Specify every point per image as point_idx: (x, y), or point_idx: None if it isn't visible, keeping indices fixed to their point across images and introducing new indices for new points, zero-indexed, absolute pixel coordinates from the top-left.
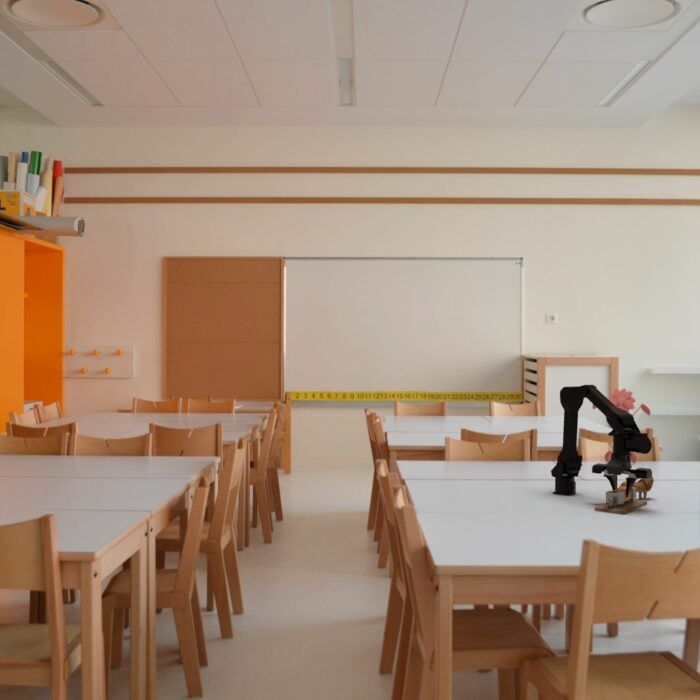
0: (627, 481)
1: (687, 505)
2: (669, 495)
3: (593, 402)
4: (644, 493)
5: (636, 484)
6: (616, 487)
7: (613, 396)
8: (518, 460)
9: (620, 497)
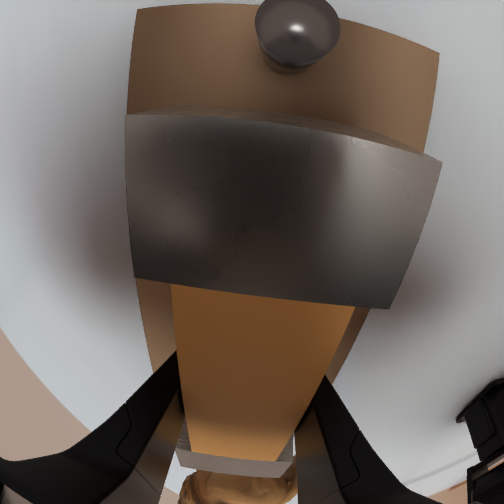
0: (104, 477)
1: (71, 403)
2: (181, 472)
3: None
4: None
5: (228, 494)
6: (301, 436)
7: None
8: (456, 485)
9: (158, 109)
